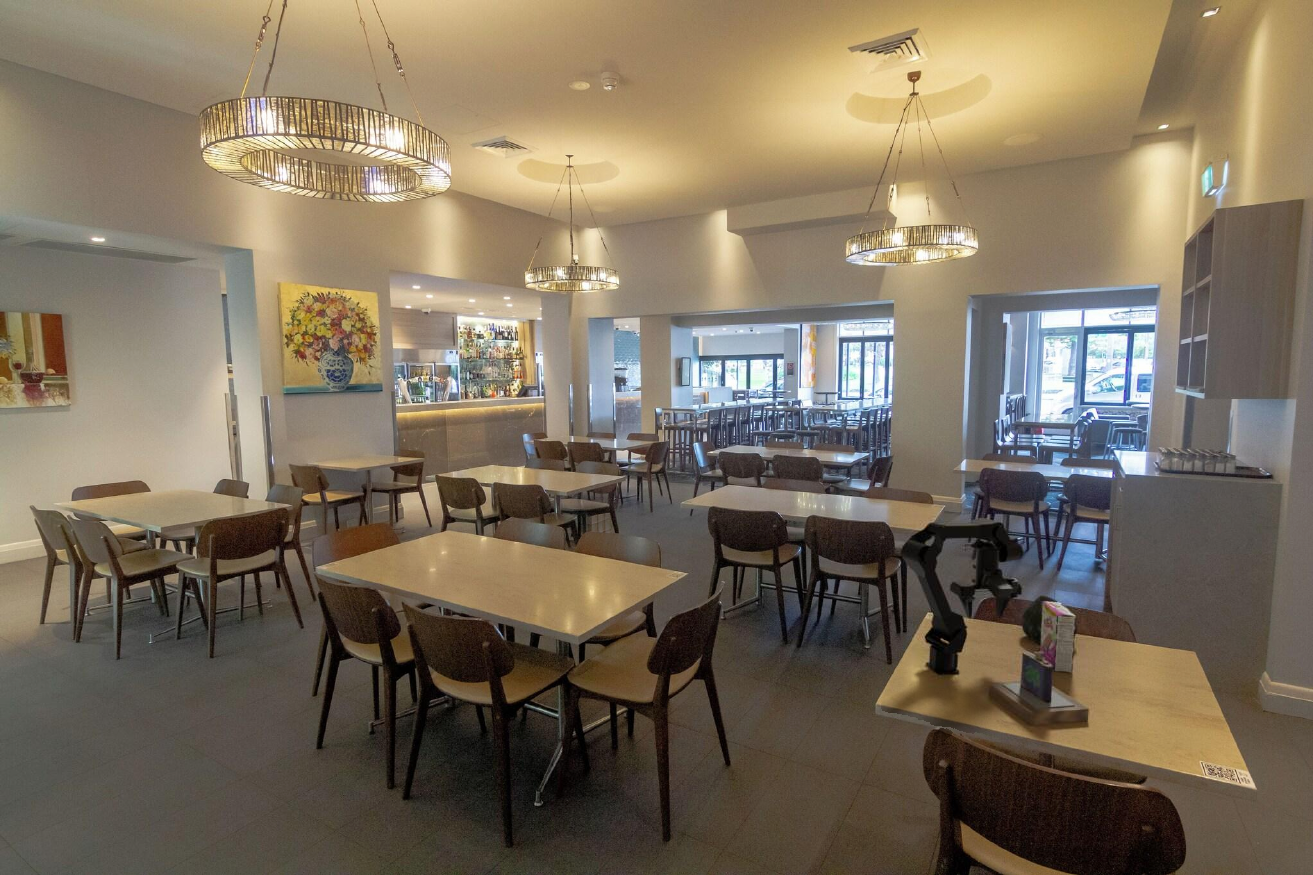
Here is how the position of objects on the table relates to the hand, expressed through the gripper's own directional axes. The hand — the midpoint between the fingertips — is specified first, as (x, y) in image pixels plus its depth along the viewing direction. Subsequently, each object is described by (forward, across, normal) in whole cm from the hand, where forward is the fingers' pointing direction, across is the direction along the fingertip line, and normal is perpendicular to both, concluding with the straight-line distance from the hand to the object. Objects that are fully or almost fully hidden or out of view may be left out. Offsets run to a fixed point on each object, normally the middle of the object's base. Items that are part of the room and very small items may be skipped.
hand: (984, 617), depth 185 cm
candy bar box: (+13, +20, -4) cm, 24 cm away
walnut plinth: (+13, -3, -26) cm, 29 cm away
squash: (+13, +30, +11) cm, 35 cm away
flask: (+10, -3, -25) cm, 27 cm away
